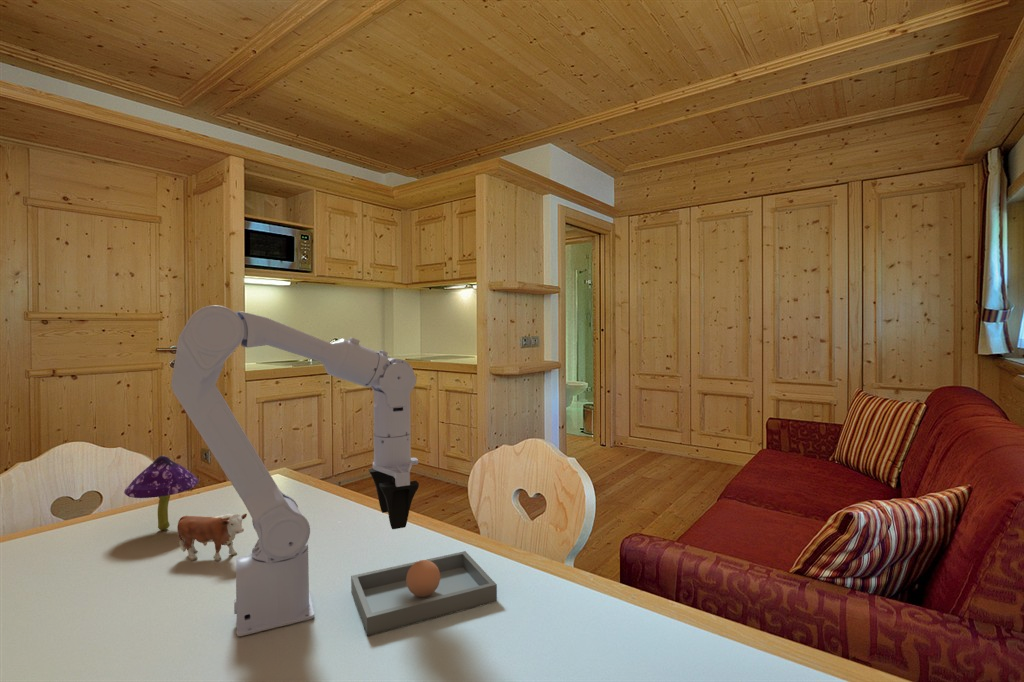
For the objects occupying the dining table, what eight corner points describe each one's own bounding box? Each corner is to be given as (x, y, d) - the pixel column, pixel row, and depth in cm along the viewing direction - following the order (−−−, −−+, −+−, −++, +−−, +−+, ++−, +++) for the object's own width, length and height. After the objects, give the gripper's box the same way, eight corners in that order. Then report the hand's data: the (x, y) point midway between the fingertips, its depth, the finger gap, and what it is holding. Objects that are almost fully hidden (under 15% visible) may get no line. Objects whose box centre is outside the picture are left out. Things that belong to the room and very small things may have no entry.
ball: (411, 607, 72) (411, 572, 72) (402, 590, 77) (402, 557, 77) (444, 599, 75) (445, 565, 74) (433, 582, 79) (434, 551, 79)
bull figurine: (238, 566, 86) (237, 518, 86) (171, 559, 89) (170, 513, 89) (256, 554, 90) (255, 509, 90) (191, 548, 93) (190, 504, 93)
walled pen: (367, 636, 66) (367, 617, 66) (351, 592, 77) (351, 575, 77) (496, 601, 74) (496, 584, 74) (465, 565, 86) (465, 551, 86)
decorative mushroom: (181, 540, 97) (179, 462, 96) (109, 544, 95) (107, 465, 95) (211, 516, 109) (209, 447, 109) (148, 519, 108) (146, 449, 107)
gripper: (429, 440, 75) (430, 531, 76) (406, 424, 88) (407, 501, 89) (381, 445, 72) (382, 539, 73) (364, 427, 85) (365, 507, 86)
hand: (393, 519), depth 80 cm, fingers open, 7 cm apart
